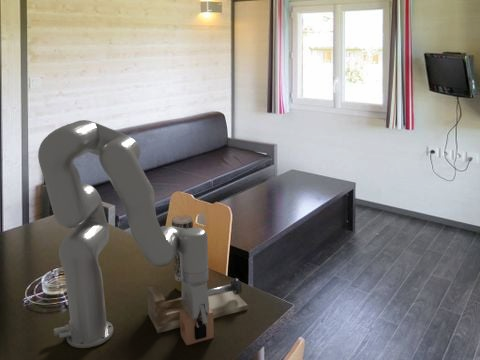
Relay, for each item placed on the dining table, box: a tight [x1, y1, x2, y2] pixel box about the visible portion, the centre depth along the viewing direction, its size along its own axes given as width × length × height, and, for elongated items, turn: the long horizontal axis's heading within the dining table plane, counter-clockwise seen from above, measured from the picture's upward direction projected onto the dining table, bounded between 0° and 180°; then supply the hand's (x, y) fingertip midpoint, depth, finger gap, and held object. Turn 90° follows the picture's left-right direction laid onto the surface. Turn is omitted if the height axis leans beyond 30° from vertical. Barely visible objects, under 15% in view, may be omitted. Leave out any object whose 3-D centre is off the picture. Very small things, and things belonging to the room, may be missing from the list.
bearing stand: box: [146, 285, 248, 334], centre depth 139 cm, size 28×11×10 cm, turn 115°
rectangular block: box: [179, 308, 215, 346], centre depth 127 cm, size 8×5×8 cm, turn 115°
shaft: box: [208, 277, 242, 297], centre depth 141 cm, size 16×5×5 cm, turn 115°
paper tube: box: [171, 214, 194, 293], centre depth 151 cm, size 7×7×25 cm
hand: (197, 331), depth 127 cm, fingers closed on rectangular block, 5 cm apart
